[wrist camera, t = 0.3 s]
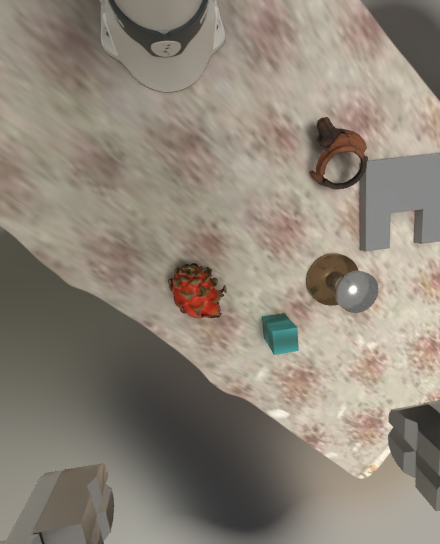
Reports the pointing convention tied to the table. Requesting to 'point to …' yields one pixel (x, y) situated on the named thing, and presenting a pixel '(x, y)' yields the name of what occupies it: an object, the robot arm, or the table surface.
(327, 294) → the bobbin post
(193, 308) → the dragon fruit
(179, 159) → the table surface
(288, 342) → the block
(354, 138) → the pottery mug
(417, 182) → the notched board
